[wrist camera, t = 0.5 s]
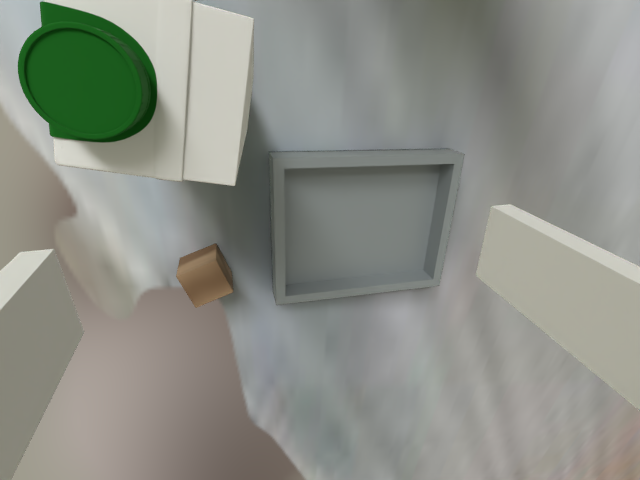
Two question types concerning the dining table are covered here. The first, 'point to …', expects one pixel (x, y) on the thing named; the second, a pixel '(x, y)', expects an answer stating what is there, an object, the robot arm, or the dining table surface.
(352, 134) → the dining table surface
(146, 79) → the soya milk
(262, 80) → the dining table surface
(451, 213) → the tray
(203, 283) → the walnut block
